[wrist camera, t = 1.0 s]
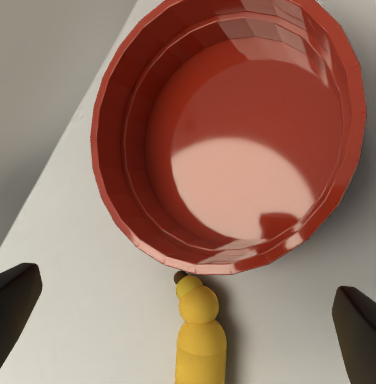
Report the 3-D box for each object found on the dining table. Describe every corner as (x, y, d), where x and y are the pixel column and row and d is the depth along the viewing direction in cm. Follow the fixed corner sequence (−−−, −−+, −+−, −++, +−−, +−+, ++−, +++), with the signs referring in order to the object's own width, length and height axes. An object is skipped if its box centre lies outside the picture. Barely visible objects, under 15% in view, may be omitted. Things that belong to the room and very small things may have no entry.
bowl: (337, 284, 19) (333, 316, 14) (128, 231, 26) (78, 239, 21) (382, 12, 18) (395, -56, 13) (152, 38, 25) (105, 0, 20)
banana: (231, 455, 21) (191, 482, 19) (191, 414, 24) (154, 432, 22) (240, 281, 21) (202, 290, 18) (199, 265, 24) (162, 271, 22)
